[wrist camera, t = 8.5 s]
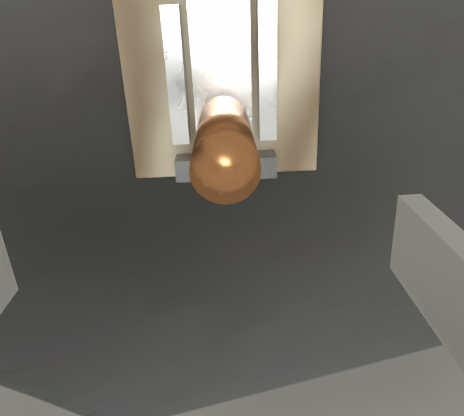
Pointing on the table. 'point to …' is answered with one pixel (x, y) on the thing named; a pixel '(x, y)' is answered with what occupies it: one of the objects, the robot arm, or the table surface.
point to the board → (155, 84)
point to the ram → (222, 101)
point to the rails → (179, 91)
